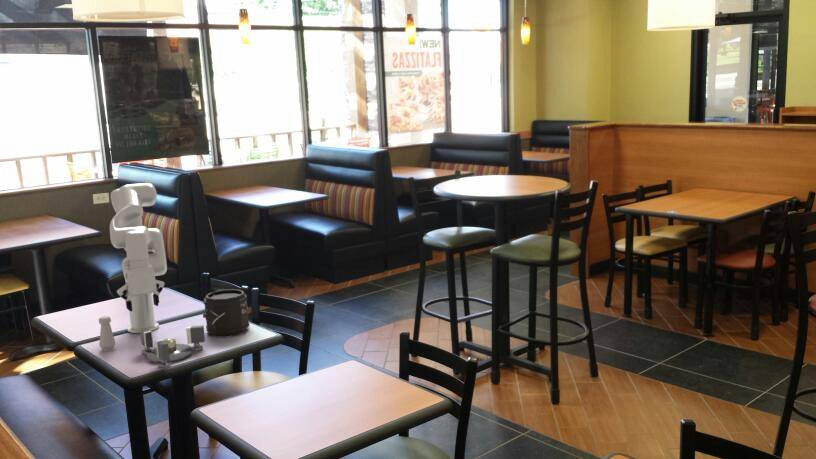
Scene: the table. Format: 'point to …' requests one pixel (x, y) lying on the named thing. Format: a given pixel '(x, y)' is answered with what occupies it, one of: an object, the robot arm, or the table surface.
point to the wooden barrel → (226, 313)
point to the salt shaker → (106, 334)
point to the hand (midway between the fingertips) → (143, 307)
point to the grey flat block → (146, 338)
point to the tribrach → (171, 353)
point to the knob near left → (195, 335)
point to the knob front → (162, 350)
